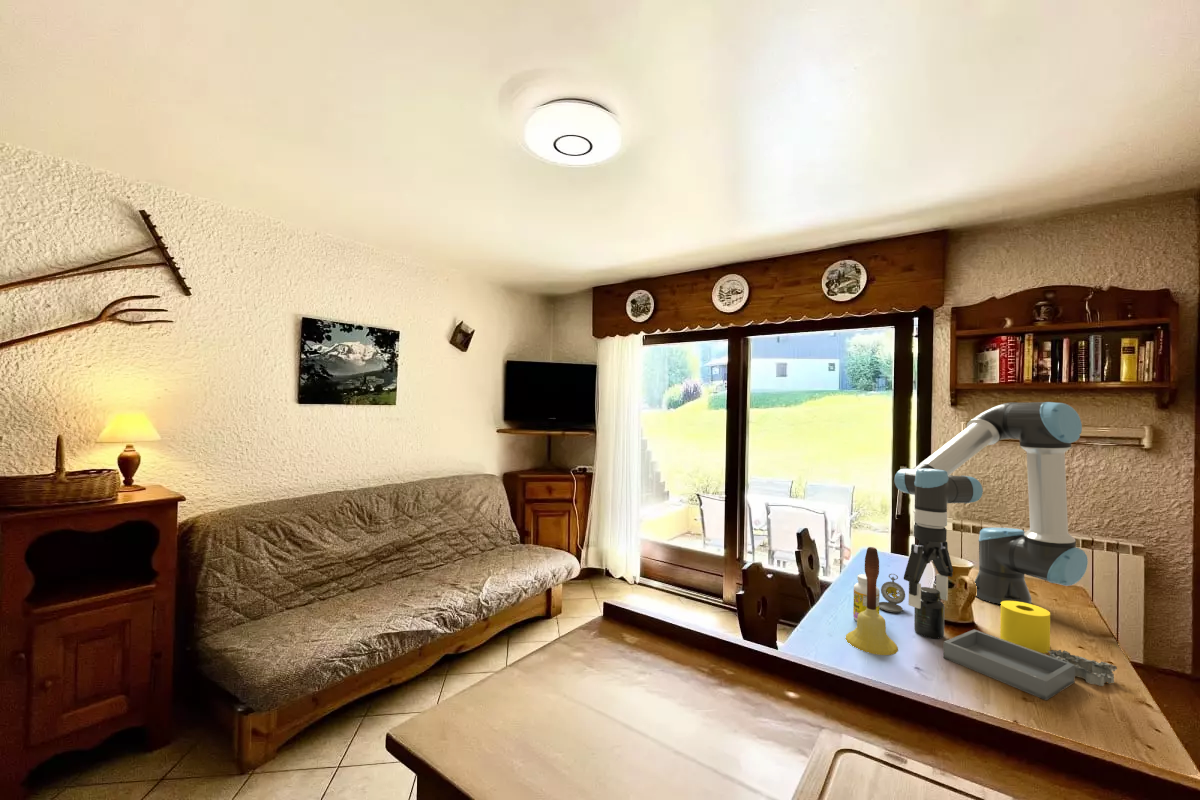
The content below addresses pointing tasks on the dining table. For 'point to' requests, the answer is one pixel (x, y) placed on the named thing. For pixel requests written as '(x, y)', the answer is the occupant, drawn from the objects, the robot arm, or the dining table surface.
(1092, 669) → the egg carton
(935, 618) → the supplement bottle
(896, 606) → the pocket watch
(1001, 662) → the tray
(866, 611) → the handbell
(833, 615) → the dining table surface
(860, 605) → the supplement bottle
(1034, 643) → the yellow toilet roll
